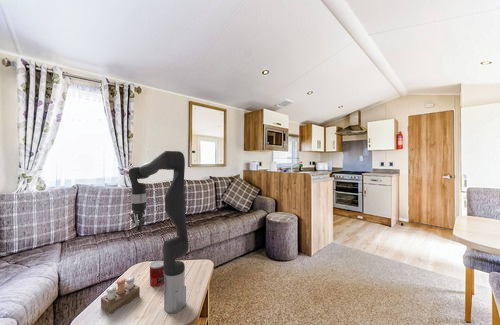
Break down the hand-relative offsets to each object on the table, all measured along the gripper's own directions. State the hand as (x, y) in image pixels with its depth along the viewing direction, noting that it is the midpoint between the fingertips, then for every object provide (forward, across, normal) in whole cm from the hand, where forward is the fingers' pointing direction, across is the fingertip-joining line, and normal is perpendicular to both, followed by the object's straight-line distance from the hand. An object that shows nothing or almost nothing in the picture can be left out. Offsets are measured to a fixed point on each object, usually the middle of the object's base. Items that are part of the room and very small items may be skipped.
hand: (138, 231), depth 117 cm
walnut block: (+29, -9, +15) cm, 34 cm away
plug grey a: (+29, -9, +19) cm, 36 cm away
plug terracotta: (+27, -9, +15) cm, 32 cm away
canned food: (+29, -11, -4) cm, 31 cm away
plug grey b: (+29, -9, +10) cm, 32 cm away
